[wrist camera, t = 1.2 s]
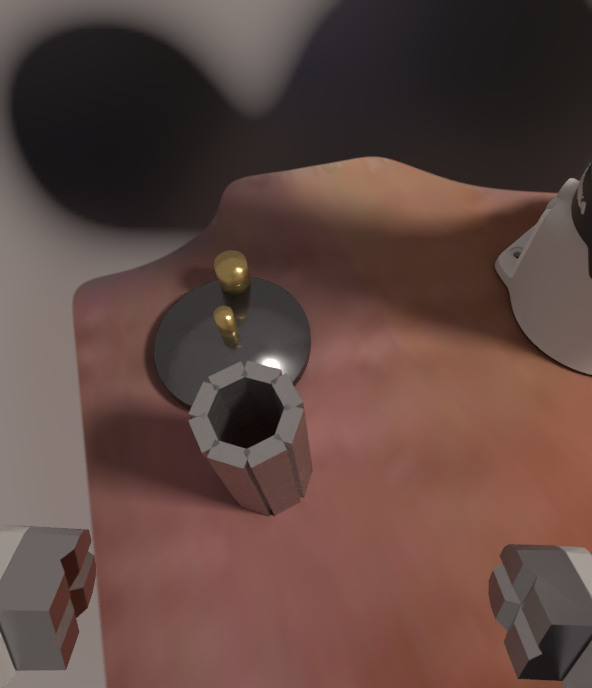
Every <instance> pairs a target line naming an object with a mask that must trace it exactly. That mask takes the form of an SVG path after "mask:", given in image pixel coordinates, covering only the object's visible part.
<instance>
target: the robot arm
mask: <svg viewBox="0 0 592 688" xmlns="http://www.w3.org/2000/svg"><path fill="white" fill-rule="evenodd" d="M514 256H516V257H519V258H516V257H514ZM495 269H496V271H497V273H498V275H499V276H500V278H501V279H502V280H503V282H504V283H505V284H506V286H507V287H508V290H509V293H510V299H511V304H512V309H513V312H514V315H515V317H516V320H517V322H518V323H519V325H520V327H521V328H522V330H523V331H524V333H525V334H526V335H527V337H528V338H529V339H530V340H531V341H532V342H533V343H534V344H535V345H536V346H537V347H538V348H539V349H541V350H542V351H543V352H544V353H546V354H547V355H548V356H550V357H551V358H553V359H555V360H556V361H558V362H560V363H562V364H564V365H566V366H568V367H570V368H572V369H575V370H578V371H580V372H583V373H587V374H591V375H592V162H591V164H590V165H589V167H588V168H587V169H586V170H585V172H584V174H583V176H582V178H581V180H580V181H578V180H576V179H569V180H568V181H567V182H566V183H565V184H564V185H563V187H562V188H561V190H560V191H559V193H558V195H557V197H554V198H553V199H552V200H551V201H550V202H549V204H548V205H547V207H546V209H545V211H544V212H543V214H542V215H541V217H540V219H539V221H538V223H537V224H535V225H534V226H533V227H532V228H531V229H529V230H528V231H527V232H526V233H525V234H524V235H522V236H521V237H520V238H519V239H518V240H516V241H515V242H514V243H513V244H512V245H510V246H509V247H508V248H507V249H506V250H505V251H503V252H502V253H501V254H500V255H499V257H498V258H497V260H496V262H495ZM90 544H91V537H90V533H89V530H84V529H68V528H67V529H66V528H51V527H34V526H13V525H3V526H2V527H1V528H0V688H4V686H6V684H7V683H8V682H9V681H10V680H11V679H12V678H13V677H14V676H15V675H16V671H17V670H18V671H19V670H66V669H67V666H68V663H69V660H70V657H71V654H72V651H73V648H74V645H75V643H76V640H77V637H78V634H79V629H78V624H77V620H76V618H77V617H78V616H79V615H80V614H81V613H82V612H84V611H85V610H86V609H87V608H88V605H89V602H90V599H91V595H92V593H93V587H94V582H95V577H96V563H95V557H94V556H93V555H92V554H91V553H90V552H88V549H89V546H90ZM500 558H501V560H502V562H503V564H501V565H500V566H498V567H497V568H495V569H494V570H493V571H492V574H491V576H490V579H489V599H490V604H491V608H492V611H493V614H494V616H495V619H496V620H497V621H498V622H499V623H500V624H501V625H502V626H503V627H504V628H505V629H506V630H507V634H506V637H505V640H504V644H505V646H506V649H507V652H508V654H509V657H510V660H511V662H512V665H513V668H514V670H515V673H516V676H517V678H518V679H530V680H550V681H562V683H561V684H562V685H563V686H564V688H592V555H591V554H590V552H588V551H587V550H586V549H585V548H584V547H569V546H555V545H514V544H509V545H507V546H505V547H504V548H503V550H502V552H501V554H500Z"/></svg>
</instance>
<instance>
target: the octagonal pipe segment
mask: <svg viewBox="0 0 592 688" xmlns="http://www.w3.org/2000/svg"><path fill="white" fill-rule="evenodd" d="M208 378H209V380H210V382H211V384H210V383H206V382H203V383H202V386H201V388H200V390H199V392H198V394H197V396H196V399H195V401H194V403H193V405H192V407H191V410H190V412H189V416H190V417H191V420H189V424H190V426H191V428H192V431H193V433H194V435H195V438H196V440H197V443H198V445H199V447H200V450H201V452H202V454H203V455H204V457H205V458H206V459H207V461H208V462H209V464H210V465H211V466H212V468H213V469H214V471H215V472H216V473H217V475H218V476H219V478H220V479H221V480H222V482H223V483H224V485H225V486H226V487H227V489H228V490H229V492H230V493H231V494H232V496H233V497H234V499H235V500H236V502H237V503H238V504H240V505H241V507H242V508H245V509H249V510H252V511H255V512H258V513H261V514H264V515H267V516H269V515H270V512H271V509H272V511H273V513H274V515H277V514H279V513H280V512H282V511H284V510H286V509H288V508H290V507H292V506H293V505H295V504H297V503H299V502H300V498H299V496H301V497H304V496H305V493H306V489H307V486H308V483H309V480H310V477H311V473H312V462H311V455H310V447H309V440H308V433H307V426H306V419H305V412H304V405H303V401H302V400H301V398H300V396H299V394H298V393H297V391H296V389H295V387H294V386H293V384H292V382H291V380H290V379H289V377H288V375H287V373H286V374H283V375H282V371H281V369H278V368H274V367H270V366H266V365H263V364H259V363H255V362H251V361H247V363H246V366H245V368H244V366H243V364H242V362H239V363H236V364H234V365H232V366H230V367H228V368H226V369H224V370H222V371H219V372H217V373H215V374H213V375H211V376H209V377H208Z"/></svg>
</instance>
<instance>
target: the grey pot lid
mask: <svg viewBox="0 0 592 688" xmlns="http://www.w3.org/2000/svg"><path fill="white" fill-rule="evenodd" d="M214 269H215V272H216V275H217V278H218V280H215V281H212V282H209V283H206V284H204V285H201V286H199V287H197V288H196V289H194V290H192V291H190V292H189V293H187V294H186V295H185V296H183V297H182V298H181V299H180V300H179V301H177V302H176V303H175V304H174V306H173V307H172V308H171V309H170V310H169V311H168V313H167V314H166V315H165V317H164V319H163V320H162V322H161V324H160V326H159V329H158V331H157V334H156V338H155V344H154V360H155V365H156V369H157V371H158V374H159V376H160V378H161V380H162V381H163V383H164V385H165V386H166V388H167V389H168V390H169V392H170V393H171V394H172V395H173V397H174V398H176V399H177V400H178V401H179V402H180V403H181V404H183V405H184V406H186V407H187V408H189V409H191V407H192V405H193V403H194V401H195V399H196V396H197V394H198V392H199V390H200V388H201V386H202V383H203V382H206V383H210V384H211V382H210V380H209V378H208V377H209V376H211V375H213V374H215V373H217V372H219V371H222V370H224V369H226V368H228V367H230V366H232V365H234V364H236V363H239V362H242V364H243V366H244V368H245V366H246V363H247V361H251V362H255V363H259V364H263V365H266V366H270V367H274V368H278V369H281V371H282V375H283V374H286V373H287V375H288V377H289V379H290V380H291V382H292V384H293V386H295V385H296V384H297V382H298V381H299V380H300V378H301V376H302V375H303V373H304V371H305V369H306V366H307V363H308V360H309V356H310V349H311V340H310V328H309V324H308V320H307V317H306V315H305V312H304V311H303V309H302V307H301V306H300V304H299V303H298V302H297V301H296V299H295V298H294V297H293V296H292V295H291V294H289V293H288V292H287V291H285V290H284V289H283V288H281V287H279V286H277V285H275V284H273V283H271V282H268V281H265V280H261V279H257V278H250V274H249V269H248V265H247V261H246V257H245V256H244V255H243V254H242V253H241V252H239V251H235V250H229V251H225V252H222V253H221V254H219V255H218V256H217V257H216V259H215V260H214Z"/></svg>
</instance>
